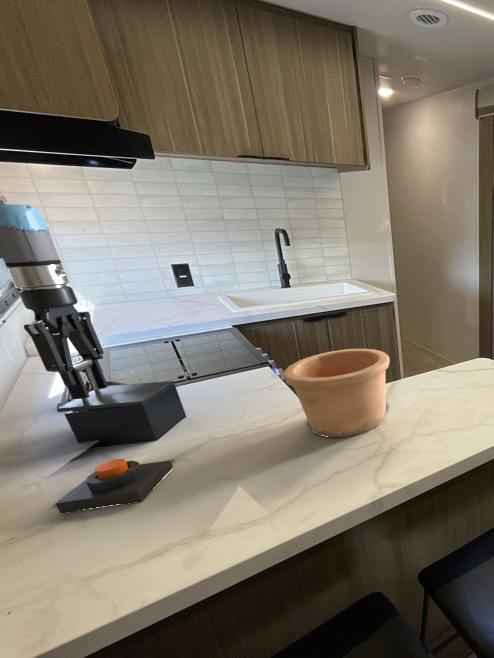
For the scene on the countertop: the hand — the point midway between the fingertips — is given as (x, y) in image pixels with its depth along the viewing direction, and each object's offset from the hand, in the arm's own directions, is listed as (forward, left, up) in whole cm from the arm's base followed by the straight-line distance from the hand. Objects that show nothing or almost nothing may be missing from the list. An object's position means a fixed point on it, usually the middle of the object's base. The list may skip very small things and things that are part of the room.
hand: (91, 392), depth 89 cm
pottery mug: (-12, +21, -11) cm, 27 cm away
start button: (+18, -26, -7) cm, 32 cm away
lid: (+5, 0, -2) cm, 6 cm away
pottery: (+55, -9, -11) cm, 57 cm away
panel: (+18, -26, -11) cm, 33 cm away
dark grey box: (+6, 0, -11) cm, 12 cm away
